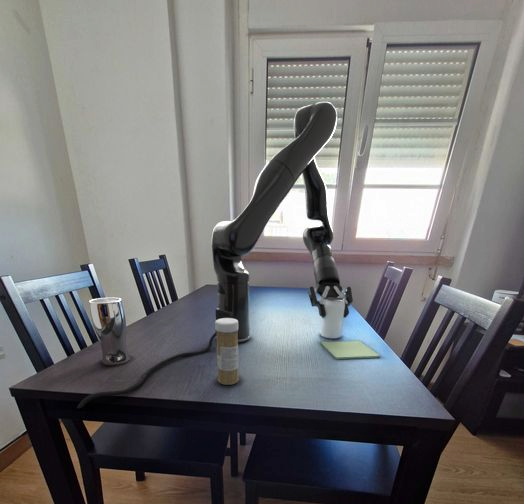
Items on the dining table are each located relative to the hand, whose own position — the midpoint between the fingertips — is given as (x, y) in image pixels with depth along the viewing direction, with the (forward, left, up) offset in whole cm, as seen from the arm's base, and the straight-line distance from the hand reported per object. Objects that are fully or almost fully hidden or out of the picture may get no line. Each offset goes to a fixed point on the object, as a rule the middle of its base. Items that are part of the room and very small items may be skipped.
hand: (334, 316), depth 87 cm
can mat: (-7, -9, -7) cm, 13 cm away
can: (+1, +1, -7) cm, 7 cm away
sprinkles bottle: (-43, +1, -7) cm, 43 cm away
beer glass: (-55, +29, -7) cm, 62 cm away
